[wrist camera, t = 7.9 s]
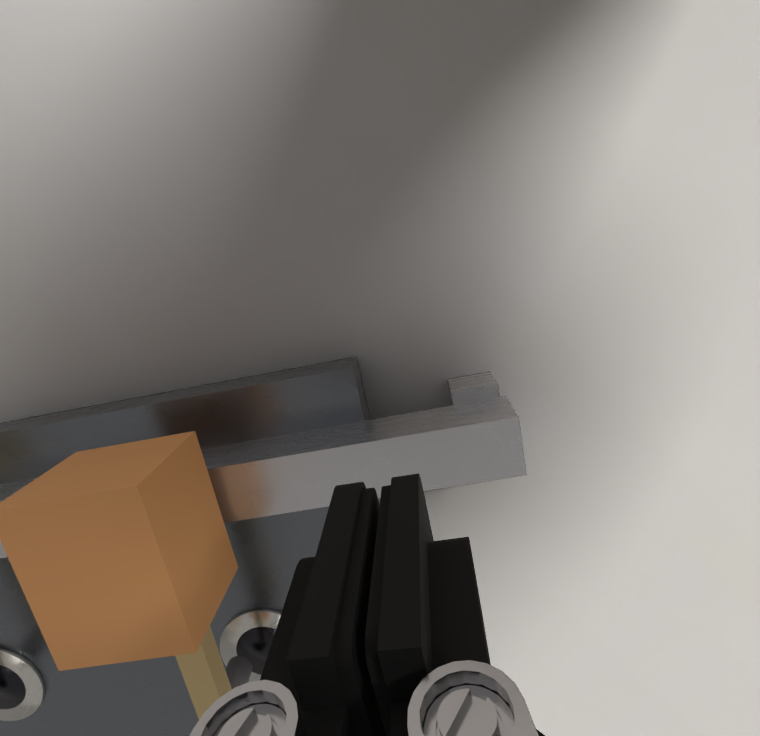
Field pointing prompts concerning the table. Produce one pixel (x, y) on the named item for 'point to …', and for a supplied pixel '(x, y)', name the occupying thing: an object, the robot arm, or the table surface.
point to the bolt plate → (249, 538)
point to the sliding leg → (127, 560)
